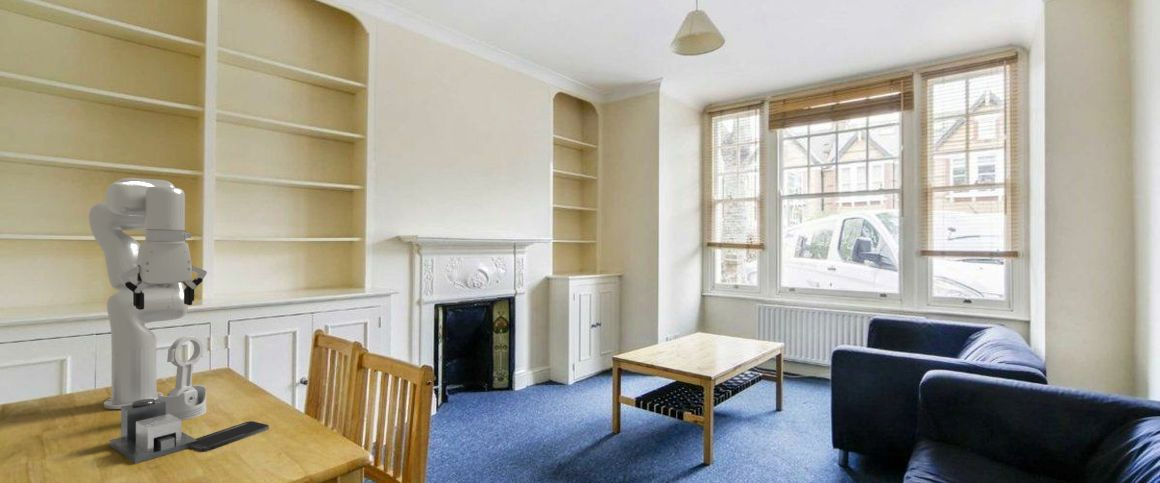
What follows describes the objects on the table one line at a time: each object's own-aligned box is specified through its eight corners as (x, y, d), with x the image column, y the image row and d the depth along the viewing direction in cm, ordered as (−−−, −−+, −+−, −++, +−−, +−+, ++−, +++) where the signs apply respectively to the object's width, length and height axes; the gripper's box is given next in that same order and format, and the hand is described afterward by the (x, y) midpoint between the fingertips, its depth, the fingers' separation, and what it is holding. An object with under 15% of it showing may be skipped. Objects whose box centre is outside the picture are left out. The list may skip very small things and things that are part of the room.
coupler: (109, 445, 114) (109, 406, 114) (169, 430, 124) (169, 393, 124) (135, 463, 106) (135, 421, 106) (197, 445, 115) (197, 406, 115)
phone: (183, 442, 115) (250, 420, 129) (183, 447, 115) (250, 425, 129) (205, 448, 112) (271, 425, 125) (205, 453, 112) (271, 430, 125)
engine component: (147, 419, 130) (179, 423, 128) (147, 340, 130) (179, 342, 128) (188, 405, 141) (218, 408, 139) (188, 332, 141) (218, 333, 139)
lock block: (147, 451, 109) (147, 428, 109) (135, 443, 113) (135, 421, 113) (181, 442, 114) (181, 420, 114) (168, 434, 118) (168, 413, 118)
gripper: (200, 236, 134) (199, 301, 135) (113, 236, 120) (113, 309, 120) (212, 237, 130) (211, 304, 131) (125, 237, 116) (124, 312, 116)
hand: (164, 306), depth 126 cm, fingers open, 9 cm apart
